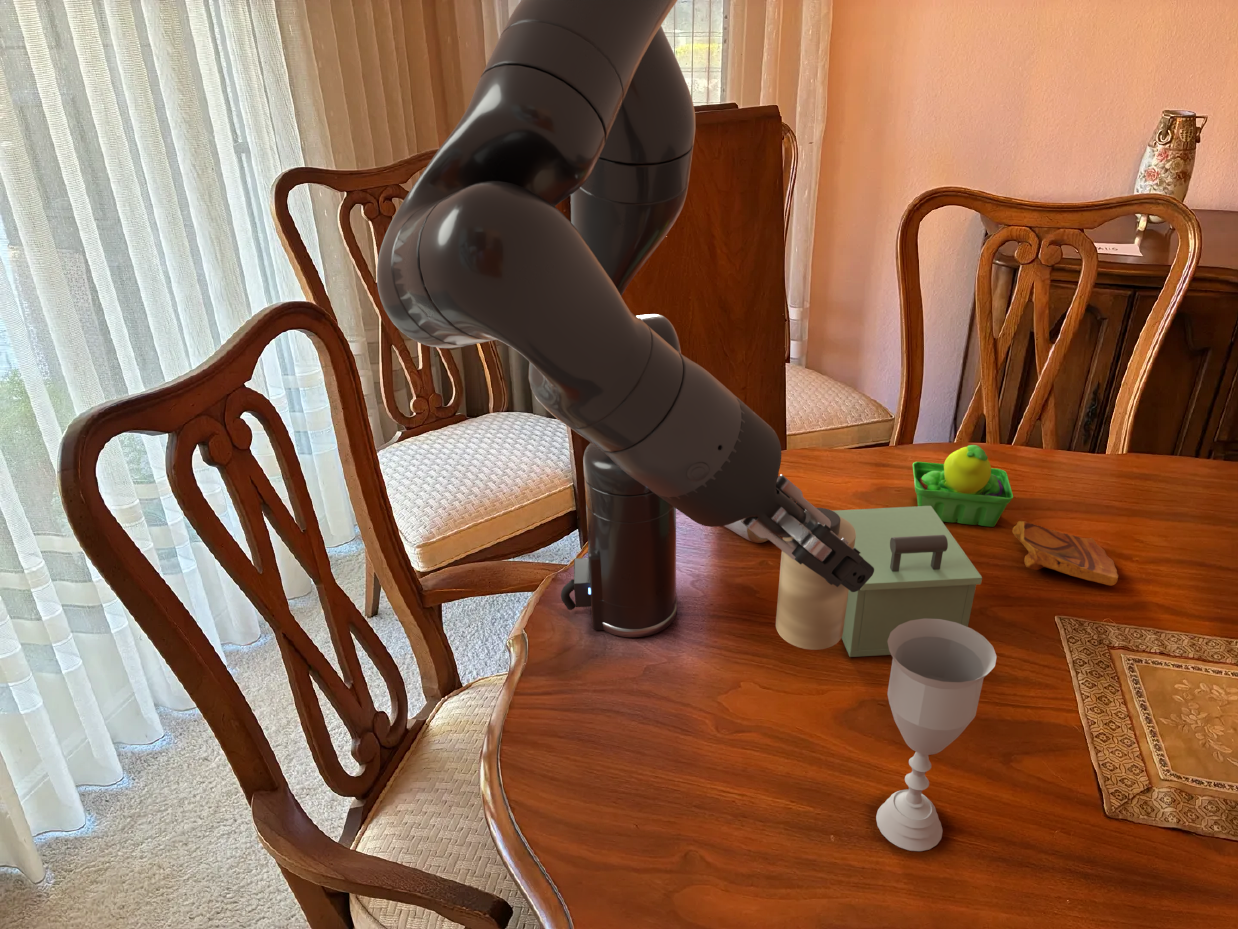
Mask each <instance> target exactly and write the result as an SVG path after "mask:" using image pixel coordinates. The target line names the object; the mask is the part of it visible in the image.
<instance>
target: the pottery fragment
mask: <svg viewBox="0 0 1238 929" xmlns="http://www.w3.org/2000/svg"><path fill="white" fill-rule="evenodd" d="M1011 532H1012V534H1013V535H1014V537H1015V538H1016V539H1017V540H1018V541H1019V542H1020V543H1021V544H1022V545H1023V546H1024V548H1025V549H1026V551H1027V552H1028V553H1027V554H1026V555H1025V556H1024V559H1023V561H1024V564H1025V565H1024V566H1025V567H1026V568H1028V569H1031V570H1034V571H1038V570H1041V569H1044V568H1047V569H1050V570H1053V571H1056V572H1059V573H1062V574H1065V575H1067V576H1071V577H1074V578H1078V579H1082V580H1085V581H1089V582H1095V583H1098V584H1102V585H1106V586H1114V585H1116V584H1117V583H1118V579H1119V574H1118V570H1117V568H1116V565H1115V562H1114V559H1112V558H1110V557H1109V556H1108V554H1107V552H1106V550H1105V549H1104V548H1102V547H1101V546H1100V545H1098V543H1097V542H1096V540H1095V539H1094V538H1093V537H1089V538H1087V537H1081V536H1077V535H1074V534H1068V533H1064V532H1061V531H1057V530H1054V529H1050V528H1047V527H1044V526H1040V525H1037V524H1034V523H1031V522H1028V521H1025V520H1024V521H1023V520H1019V521H1017V522H1016V525H1014V526H1013V528H1012V529H1011Z"/></svg>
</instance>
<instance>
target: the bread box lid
mask: <svg viewBox="0 0 1238 929" xmlns="http://www.w3.org/2000/svg"><path fill="white" fill-rule="evenodd" d="M833 511H834V512H835V513H837V514H838V515H839V517H842V518H844V519H845V520H847V521H848V522H849V523H851V525H852V526H853V527H854V529H855V531H856V538H855V546H854V548H856V549H857V550H858V551H859V552H860V554H859V555H860V556H862V557H863V559H864V560H865V561H867V562H868V563H869V564H870V565H871V566H873V567H874V573H873V575H872V576H871V577H870V579H869V580H868V581H867V582H866V583H865V584H864V585H863V586H862V588H861V589H860V590H861V591H863V590H882V589H901V588H919V587H938V586H957V585H976V586H977V585H982V582H983V581H982V580H983V577H982V574H981V573H980V572H979V571H978V569H977V568H976V567H975V565H974V564H973V563H972V561H971V560H970V559H969V558H970V557H968V555H967V554H966V553H965V551H964V550H963V548H962V547H961V546H960V544H959V542H958V541H957V540H956V538H955V537H954V536H953V535H952V533H951V532H950V530H949V529H948V527H947V525H946V524H944V523H945V522H942V521H941V519H940V518H939V516H938V515H937V513H936V512H935V511H934V509H933V508H932V506H918V505H917V506H897V507H880V508H878V507H877V508H860V509H859V508H858V509H856V508H855V509H837V510H833Z"/></svg>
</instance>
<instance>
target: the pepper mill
mask: <svg viewBox="0 0 1238 929" xmlns="http://www.w3.org/2000/svg"><path fill="white" fill-rule="evenodd" d="M816 508H817V509H818V510H819V511H820V512H822V513H823V514H824V515H825V516H826V517H827V518H829V519H830V521H831V526H830V528H831V529H832V530H831V531H832V532H833V533H835V534H836V535H837V536H838V537H839V538H841V539H842V538H844V539H845V540H847V541H848V542H849V543H848V545H849V546H850V547H851V548H852V549H853V548H854V546H855V538H856V531H855V529H854V527H853V526H852V525H851V523H849V522H848V521H847V520H845V519H844V518H842V517H839V515H838V514H837V513H835V512H834V511H835V510H832V509H829V508H825V507H816ZM804 512H805V513H806V520H805V522H804V523H803V525H804V526H805V525H806V524H807V523H808V522H809V520H810V513H809V512H808V511H804ZM782 539H783V540H785V541H791V540H793V539H794V538H793V537H792V536H791V537H788V538H784V537H782ZM848 591H849V590H848V589H847V588H846V587H845V586H843V585H842V584H840V585H839V586H838V587H836V586H835V585H833V584H832V585H831V584H829V583H828V582H827V581H826V579H824V578H823V577H822V576H820V575H819V574H817V573H816V572H814V571H813V570H811V569H810V568H808V567H807V566H805V565H804V564H803V563H802V564H799V563H798V562H797V561H796V560H793V559H792V558H791V557H790V556H788V555H787V554H786V553H785V552H783V551H782V550H781V555H780V567H779V581H778V591H777V604H776V615H775V629H776V631H777V633H778V635H779V636H780V638H781V639H783V640H784V641H785V642H787V643H788V644H790V645H792V646H794V647H796V648H800V649H804V650H812V651H815V650H816V651H819V650H826V649H829V648H832V647H833V646H835V645H837V644H838V643H839V642H840V641H841V640H842V635H843V629H844V622H845V614H846V607H847V599H848Z"/></svg>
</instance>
